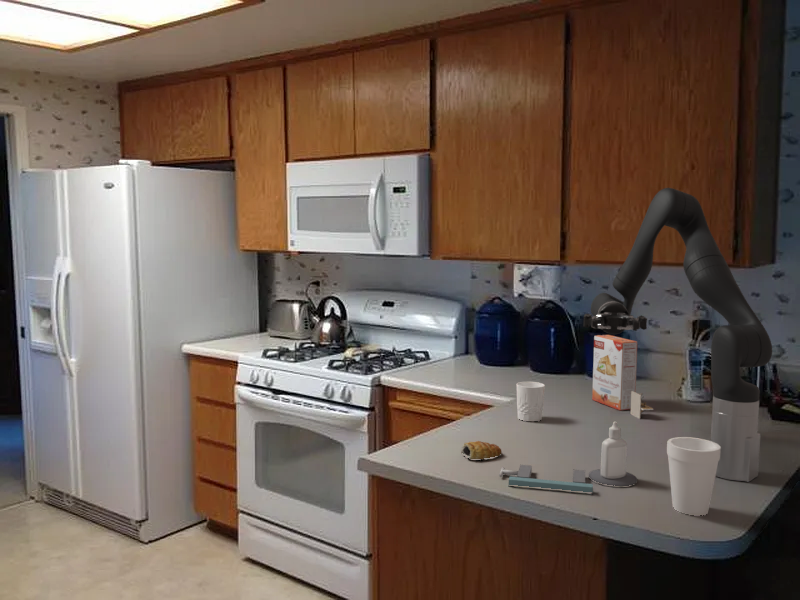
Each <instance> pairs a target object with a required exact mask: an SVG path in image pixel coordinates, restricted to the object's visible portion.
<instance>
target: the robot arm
mask: <svg viewBox="0 0 800 600" xmlns="http://www.w3.org/2000/svg"><path fill="white" fill-rule="evenodd" d="M665 226H666V227H668V228H672V229H674V230H676V231H677V232H678V234H679V235H680V238H681V239H682V240H683V243H684V246H685V249H686V250H685V254H684V258H683V263H682V264H683V271H684V273H685V276H686V278H687V280H688V282H689V284H690V287H691V288H692V290H693V292H694V293H695V295H697V297H698V298H700V300H701V301H703V302H704V303H705V304H707V305H708V306H709V307H711V308H712V309H713V310H715V311H716V312H717V313H718V314H719V315H721V316H722V317H723V318H724V319H725V321H726V322H727V323H728V324H729V325H721V326H718V327H717V329H715V331H714V333H713V336H712V339H711V347H710V350H711V351H710V353H711V354H710V355H711V356H710V361H711V362H710V366H711V369H710V375H711V376H710V377H711V384H712V390H713V391H712V392H713V393H712V407H711V408H712V411H711V425H710V426H711V427H710V441H712V442H714V443H717V444H718V445H719V446H720V447H721V450H720V460H719V461H718V466H717V471H716V476H715V477H718V478H721V479H725V480H730V481H742V482H747V483H749V482H750V481H752V480H754V479H755V478H757V477H758V476H759V468H760V467H759V466H760V449H761V447H760V446H761V433H760V432H758V427H759V425H758V424H759V412H760V411H759V410H760V409H759V408H760V397H761V396H760V394H761V391H760V388H759V387H758V386H757V385H755V384H753V383H751V382H747V381H745V380H744V379H743V378H742V376H741V368H759V367H763V366H765V365H766V366H767V364H769V362H770V361H771V359H772V356H773V345H772V341H771V338H770V336H769V333H768V332H767V330H766V328H765V327H764V326H765V325H763V323H762V321H761V320H760V319H759V317H758V316H757V314H756V313H755V311H754V310H753V309H752V307H751V305H750V304H749V302H748V301H747V299H746V297H745V296H744V294H743V292H742V291H741V289H740V287H739V285H738V283H737V282H736V280H735V277H734V274H733V273H732V271H731V269H730V267H729V265H728V263H727V260H726V259H725V256H724V255H723V254H722V252H721V251H720V248H719V246H718V244H717V242H716V240H715V238H714V237H713V234H712V232H711V230H710V227H709V225H708V222H707V219H706V216H705V212H704V210H703V207H702V205H701V203H700V201H699V200H698V199H697V198H696V197H695V196H694V195H692V194H689V193H687V192H684V191H681V190H678V189H675V188H674V187H673V188H671V187H664V188H662V189H660V190H659V191H657V193H656V194H655V195H654V197H653V198H652V200H651V202H650V204H649V206H648V208H647V211H646V212H645V216H644V218H643V220H642V223H641V225H640V227H639V230H638V232H637V235H636V237H635V240H634V243H633V245H632V248H631V250H630V251H629V253H628V256H627V258H626V259H625V261H624V262H623V264H622V266H621V267H620V269H619V271H618V272H617V274H616V275H615V277H614V279H613V280H612V288H613V289H615V291H617V292H618V293H619V294H620V295H621V296H622V297H623V301H622V300H621V299H619V298H617V297H615V296H613V295H611V294H609V293H606V292H601V293H599V294H597V295H596V296H595V297H594V298H593V300H592V301H591V304H590V313H591V314H590V313H585V314H584V316H583V324H582V325H583V327H585V328H589V327H590V326H591V328H593V329H594V330H599V329H600V330H602V331H603V332H605V333H607V334H608V335H618V334H621V333H623V332H625V331H630V330H631V331H635V332H637V331H638V330H639V329H641V330H643V331H644V330H647V329H648V328H647V323H648V318H647V317H646V316H644V315H638V316H637V317H634V315H632V310H633V306H634V303H635V300H636V297H637V295H638V293H639V291H640V290H641V288H642V286H643V285H644V283H645V282H646V280H647V278H648V277H649V275H650V273H651V271H652V269H653V262H654V248H655V243H656V240H657V238H658V235H659V234H660V232H661V230H662V229H663V228H664V227H665Z"/></svg>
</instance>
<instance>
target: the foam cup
mask: <svg viewBox="0 0 800 600" xmlns="http://www.w3.org/2000/svg"><path fill="white" fill-rule="evenodd" d="M666 443H667V444H666V454H667V459H668V470H669V471H668V472H669V481H670V482H669V483H670V491H671V492H670V493H671V503H672V508H673V507H674V509H675V510H677V511H679V512H682V513H685V514H689V515H688V516H690V515H694V516H693V517H703V515H704V516H706V514H707V515H708V513H709V509H710V504H711V499H712V495H713V490H714V485H715V480H716V477H717V476H716V471H717V466H718V461H719V460H720V450H721V447H720V446H719V445H718V444H717V443H714V442H712V441H711V440H708V439H704V438H698V437H690V436H681V437H680V436H679V437H678V436H676V437H672V438H669V439H668V440H667V442H666ZM674 509H673V510H674ZM675 510H674V511H675ZM677 511H676V512H677ZM679 512H678V513H679ZM685 514H684V515H685ZM700 515H702V516H700Z"/></svg>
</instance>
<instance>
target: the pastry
mask: <svg viewBox="0 0 800 600" xmlns="http://www.w3.org/2000/svg"><path fill="white" fill-rule="evenodd" d="M460 451H461V454H462V453H463V454H465V455H467V456H468V458H470V459H482V460H483V459H484V458H490V457H495V456H499V455H500V454H501V455H502V454H503V453H502V448H501V447H499V446H498V445H497V444H495V443H489V442H486V441H485V442H484V441H480V440H477V441H476V440H475V441H469V442H464V443H463V445H462V447H461V450H460ZM499 457H500V456H499ZM468 458H467V459H468Z"/></svg>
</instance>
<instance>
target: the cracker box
mask: <svg viewBox="0 0 800 600" xmlns="http://www.w3.org/2000/svg"><path fill="white" fill-rule="evenodd" d="M637 363H638V341H636V340H631V339H628V338H623V337H620V336H615V335H612V334H602V335H601V334H597V335H594V337H593V363H592V364H593V367H592V390H591V391H592V397H591V399H592V401H595V402H597V403H600V404H602V405H605V406H607V407H609V408H612V409H615V410H617V411H621V412H622V411H626V410H627V411H628V410H631V391H634V392H636V391H637V389H636V388H637V369H638V368H637V365H638V364H637ZM636 393H637V392H636Z"/></svg>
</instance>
